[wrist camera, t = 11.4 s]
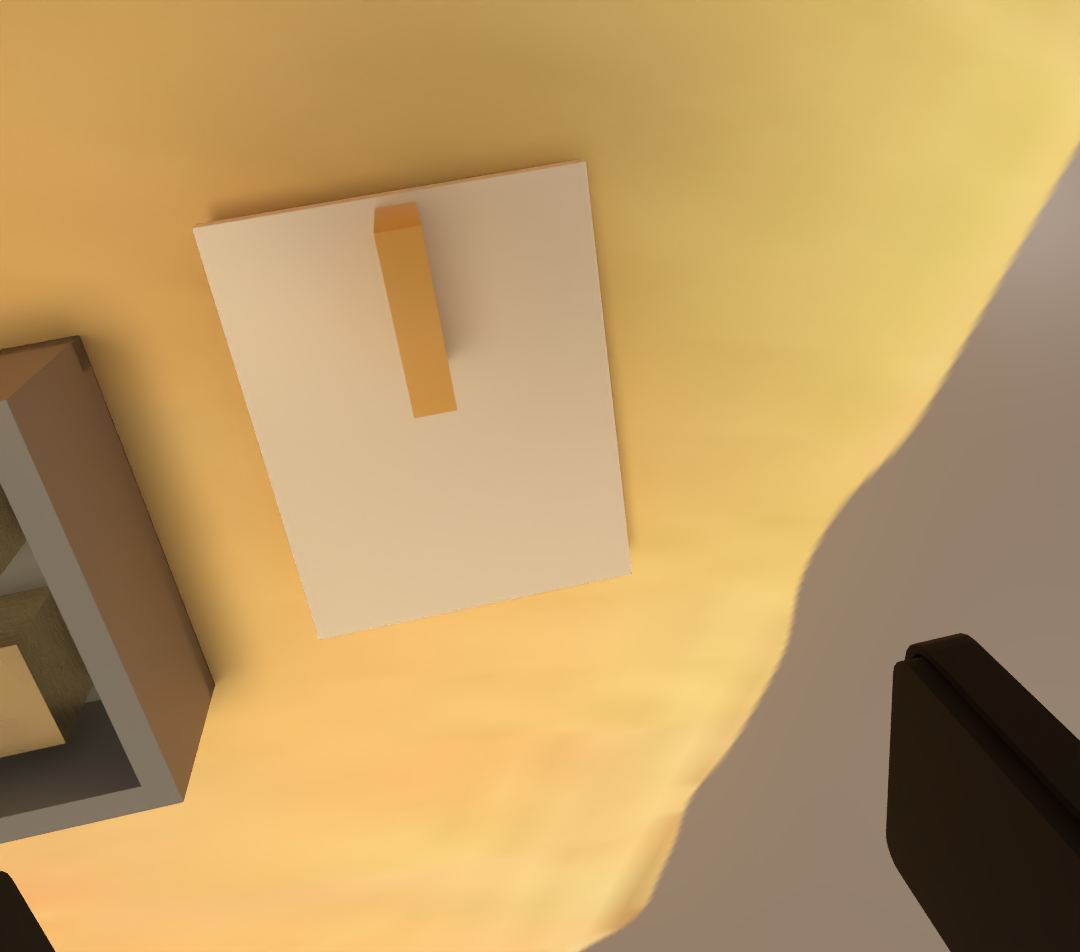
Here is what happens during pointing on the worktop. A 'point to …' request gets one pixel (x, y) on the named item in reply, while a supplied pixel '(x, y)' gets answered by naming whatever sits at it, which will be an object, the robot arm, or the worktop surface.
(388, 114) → the worktop surface
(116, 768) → the tub
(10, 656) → the brass block
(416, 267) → the lid
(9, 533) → the brass block
